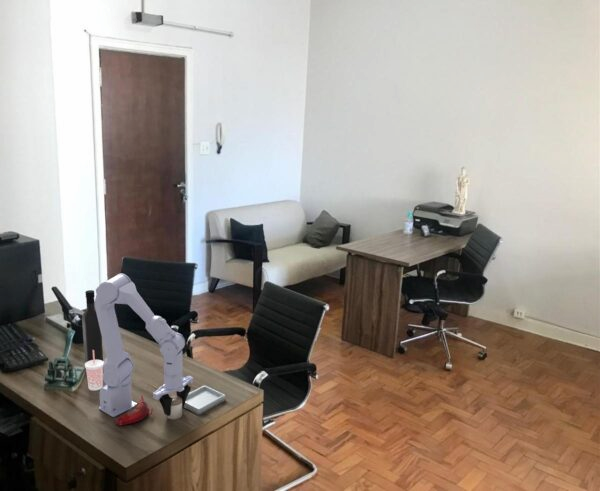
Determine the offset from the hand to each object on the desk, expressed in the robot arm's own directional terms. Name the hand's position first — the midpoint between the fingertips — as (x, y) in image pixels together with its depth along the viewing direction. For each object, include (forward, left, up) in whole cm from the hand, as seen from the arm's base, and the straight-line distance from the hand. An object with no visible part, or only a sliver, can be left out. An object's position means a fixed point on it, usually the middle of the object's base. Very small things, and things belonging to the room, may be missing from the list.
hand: (174, 410), depth 174 cm
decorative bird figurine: (-4, +5, 0) cm, 6 cm away
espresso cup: (0, 0, -1) cm, 1 cm away
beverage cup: (-6, +34, -2) cm, 35 cm away
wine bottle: (+2, +47, -2) cm, 47 cm away
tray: (+11, -1, -1) cm, 11 cm away
